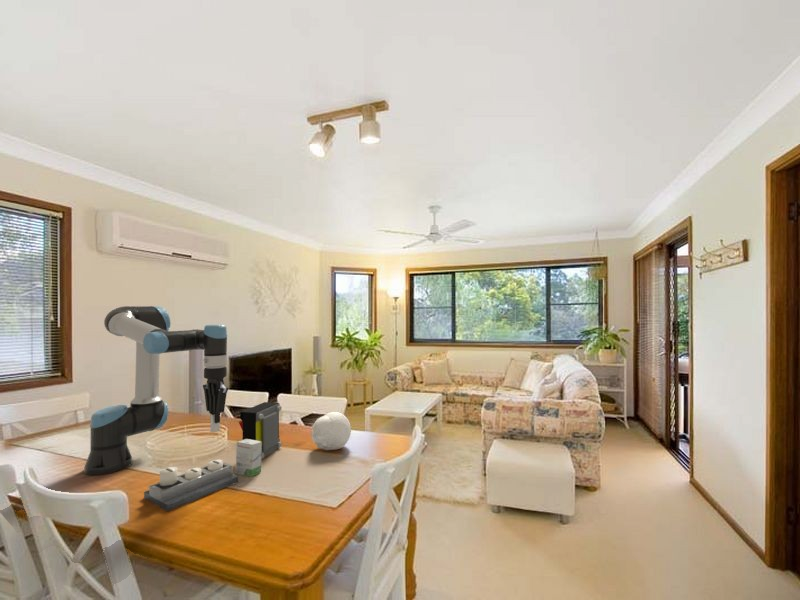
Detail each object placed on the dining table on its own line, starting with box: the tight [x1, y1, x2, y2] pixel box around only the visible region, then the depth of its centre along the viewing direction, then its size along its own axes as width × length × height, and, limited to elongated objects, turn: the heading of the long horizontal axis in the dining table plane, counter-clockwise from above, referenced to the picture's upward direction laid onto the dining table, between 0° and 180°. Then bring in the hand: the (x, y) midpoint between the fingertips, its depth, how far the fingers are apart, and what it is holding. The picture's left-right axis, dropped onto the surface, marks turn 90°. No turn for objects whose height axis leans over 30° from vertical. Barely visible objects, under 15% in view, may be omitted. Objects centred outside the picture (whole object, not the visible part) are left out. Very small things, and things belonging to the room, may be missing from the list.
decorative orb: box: [311, 411, 352, 451], centre depth 168 cm, size 20×18×16 cm
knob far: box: [207, 459, 224, 472], centre depth 138 cm, size 5×5×4 cm
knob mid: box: [184, 467, 201, 480], centre depth 131 cm, size 5×5×4 cm
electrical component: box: [238, 401, 283, 460], centre depth 164 cm, size 18×10×20 cm, turn 166°
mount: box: [143, 461, 239, 512], centre depth 131 cm, size 16×24×5 cm, turn 146°
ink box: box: [235, 439, 262, 477], centre depth 145 cm, size 9×5×12 cm, turn 65°
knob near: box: [159, 466, 179, 486], centre depth 125 cm, size 5×5×4 cm
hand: (215, 431), depth 138 cm, fingers closed
